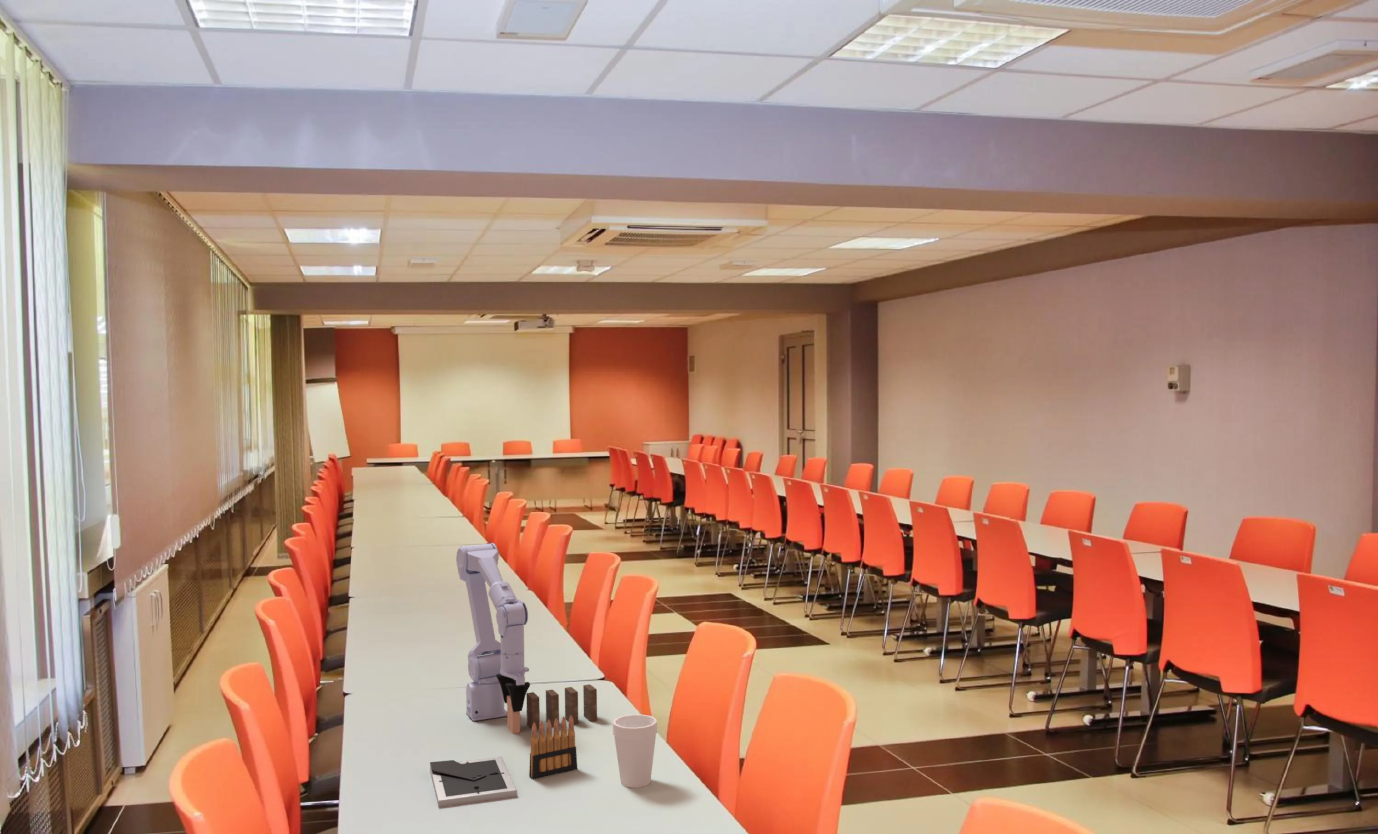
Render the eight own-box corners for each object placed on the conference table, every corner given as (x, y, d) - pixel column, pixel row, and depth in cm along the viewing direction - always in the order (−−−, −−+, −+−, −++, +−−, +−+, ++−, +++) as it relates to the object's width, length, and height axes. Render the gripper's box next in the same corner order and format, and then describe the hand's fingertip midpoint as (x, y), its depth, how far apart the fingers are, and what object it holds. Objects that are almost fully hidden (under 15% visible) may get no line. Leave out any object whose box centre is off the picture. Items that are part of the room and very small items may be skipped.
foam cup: (637, 770, 225) (637, 711, 225) (666, 781, 219) (666, 720, 218) (604, 782, 219) (603, 721, 218) (633, 794, 212) (632, 731, 212)
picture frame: (430, 774, 226) (438, 810, 206) (429, 761, 226) (438, 796, 206) (502, 765, 231) (517, 799, 212) (501, 753, 231) (516, 786, 211)
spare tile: (512, 733, 251) (512, 701, 251) (507, 727, 255) (506, 695, 255) (520, 732, 252) (519, 700, 251) (514, 726, 256) (514, 694, 256)
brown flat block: (590, 721, 259) (589, 690, 259) (583, 716, 264) (583, 685, 264) (597, 720, 260) (596, 689, 260) (590, 715, 265) (590, 684, 264)
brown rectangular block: (532, 730, 253) (532, 698, 253) (526, 724, 257) (526, 693, 257) (539, 729, 254) (539, 697, 253) (533, 723, 258) (533, 692, 258)
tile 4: (571, 724, 257) (571, 692, 257) (565, 718, 262) (564, 687, 262) (578, 723, 258) (577, 691, 258) (571, 717, 262) (571, 686, 262)
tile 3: (552, 727, 255) (551, 695, 255) (546, 721, 260) (545, 690, 259) (559, 726, 256) (558, 694, 256) (553, 720, 260) (552, 689, 260)
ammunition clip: (532, 779, 221) (531, 724, 221) (529, 776, 222) (528, 721, 222) (577, 769, 227) (576, 715, 226) (573, 766, 228) (573, 713, 228)
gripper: (536, 656, 248) (537, 712, 249) (520, 643, 261) (520, 696, 262) (508, 660, 245) (508, 716, 245) (492, 646, 258) (493, 700, 259)
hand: (513, 706), depth 253 cm, fingers open, 7 cm apart
